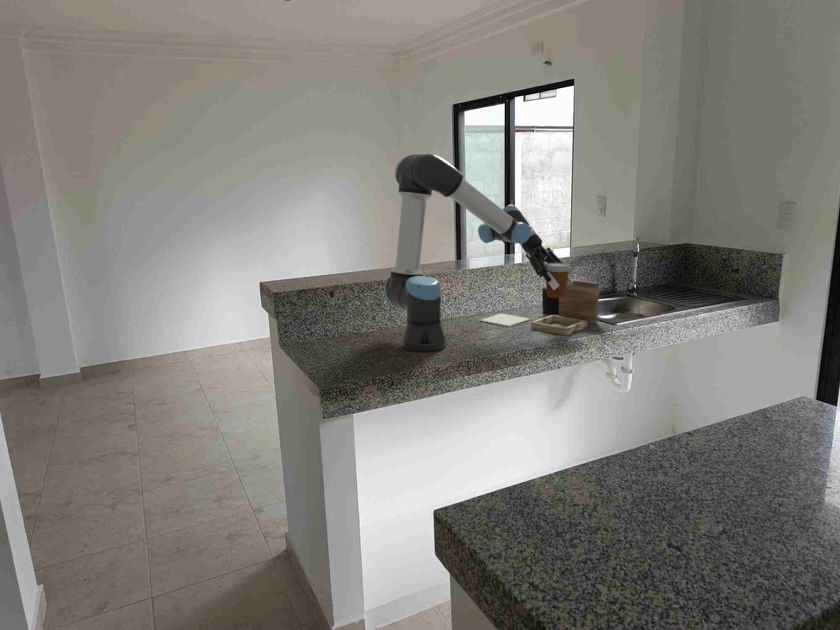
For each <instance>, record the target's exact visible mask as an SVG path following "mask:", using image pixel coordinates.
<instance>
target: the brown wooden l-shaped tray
mask: <svg viewBox="0 0 840 630" xmlns="http://www.w3.org/2000/svg"><path fill="white" fill-rule="evenodd" d="M572 280H573V283H572V284H570V285H569V286H567V285H566V289H565V294H564V297H562V298H559V314H549V315H548V316H545V317H543V318H540V319H537V320H534V321H531V324H530V326H531V327H530V329H532V330H536V331H541V330H543V331H542V332H546V331H548V332H547V333H552V332H553V333H552V334H557V333H558V335H562V334H563V335H562V336H568V335H571V334H573V333H576V332H578V331H581V330H584V329H585V327H586V328H588V324H589V323H591V325H597V324H598V311H599V310H598V309H599V293H600V292H599V291H600V283H599V282H593V281H587V280H586V281H585V280H577V279H572ZM548 323H549V324H548ZM551 323H558V324H564V325H568V326H566V327H565V326H564V327H563V326H559V325H553V324H551ZM596 323H597V324H596Z"/></svg>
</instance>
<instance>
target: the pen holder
mask: <svg viewBox="0 0 840 630" xmlns="http://www.w3.org/2000/svg"><path fill="white" fill-rule="evenodd" d="M541 295H542V297H541V298H542V305H541V306H542V313H544V314H546V313H547V315H559V298H552V297H548V296H547V288H545V287H543V288H542V294H541Z"/></svg>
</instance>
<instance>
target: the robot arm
mask: <svg viewBox="0 0 840 630" xmlns="http://www.w3.org/2000/svg"><path fill="white" fill-rule="evenodd" d="M394 177H395V181H396V182H397V184H398V194H399V195H400V197H401V209H400V219H399V229H398V237H397V238H398V239H397V248H396V251H397V252H396V259H395V266H394V267H392V268H391V270H390V276H389V277H388V278H387V279H386V280H385V283H384V286H383V291H384V292H383V293H384V296H385V299H386V300H387V302H389V304H390V305H392V306H393V307H396V308H398V309H401V310H403V311H406V327H405V329H404V330H405V331H404V333H403V334H404V335H403V337H402V342H401V343H402V348H404V349H406V350H408V351H411V352H420V353H421V352H424V353H425V352H435V351H439V350H442V349H444V348H446V346H447V337H446V336H445V334H444V329H443V327H442V317H441V316H442V314H441V312H442V305H441V304H442V301H441V298H442V297H441V296H442V295H441V294H442V291H441V284H440V281H439V280H438V279H436V278H434V277H431V276H424V272H423V271H422V269H421V267H420V266H421V257H422V246H423V239H424V238H423V237H424V236H423V235H424V228H425V227H424V226H425V220H426V207H427V200H429V199H430V198H431V197H432V192H433V191H434V192H436V193H438V194H440V195H442V196H443V197H444V198H451V199H452V200H453V201H455V202H456V203H458V204H459V206H461V207H462V208H464V209H465V210H467V211H468V212H469V213H471V214H472V215H473V216H474V217H476V218H478V219H479V220H480V221H481V222H483V223H481V224H480V225H479V226H478V227H477V233H478V237H479V240H481V241H482V242H483V243H485V244H489V243H492V242H494V241H500V242H508V243H512V244H513V243H514V244H517V245H518V244H519V245H520V246H521V248H522V249H523V251H524V252H525V253H526V254H525V258H527V259H528V261H529V263H530V264H531V266H532V268H533V270H534V271H535V273H536V275H537V276H539V277H540V278H542V277H543V278H544V280H545V282H546V281H547V282H548V283H549V285H550V286H551V287H552V289H553V290H555V289H556V288H557V287H558V286H559V284H558V283H557V281H556V280H555V279H554V277H553V276H552V275H551V273H550V272H547V270H546V267H545V264H547V263H564V262H563V261H562V260H561V259H560V258H559V257H558V256H557V255H556V254H555V253H554V252H553V251H552V249H551V248H550V247H549V246H547V248H545V247H544V246H543V245H542V244H543V240H542V239H541V237H540V236H539V234H537V232H536V231H535V230H534V228H533V226H532V225H531V224H530V223H529V221H528V220H527V219H526V217H525V216H524V215H523V213H522V212H521V210H519V209H518V207H517V206H516V205H514V204H509V205H507V206H505V207H504V208H501V207H500V206H499V205H497V204H496V203H495V202H494V201H492V200H491V199H490V198H489V197H488V196H486V195H485V194H483V193H482V192H481V191H479V189H478V188H476V187H475V186H473V185H472V184H471V183H470V182H469V181H467V180H466V179H464V174H463V173H462V172H461V171H460V170H458V169H457V168H456V167H455V166H453V165H452V164H451V163H449V162H448V161H447V160H445V159H444V158H443V157H440V156H439V155H436V154H433V153H425V154H424V153H423V154H421V153H420V154H417V153H416V154H410V155H406V156H405V157H403V158H401V159H400V160H399V161H398V162H397V165H396V167H395V171H394ZM545 262H546V263H545ZM573 280H574V279H572V278H571V277H570V275H569V274H568V278H567V283H566V285H567V286H569V285H570V284H572V283H573Z"/></svg>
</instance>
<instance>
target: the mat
mask: <svg viewBox="0 0 840 630" xmlns="http://www.w3.org/2000/svg"><path fill="white" fill-rule="evenodd" d="M530 319H531V318H529V317H523V316H517V315H513V314H512V315H510V314H506V313H498V314H495V315H491V316H489V317H486V318H483V319H482V318H481V319H480V322H481V321H483V323H486V322H488V323H487V324H491V323H493V324H492V325H496V324H497V325H496V326H501V325H502V327H506V326H507V327H508V328H511V327H514V326H517V325H519V324H522V323H525V322H528V321H531V320H530Z"/></svg>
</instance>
